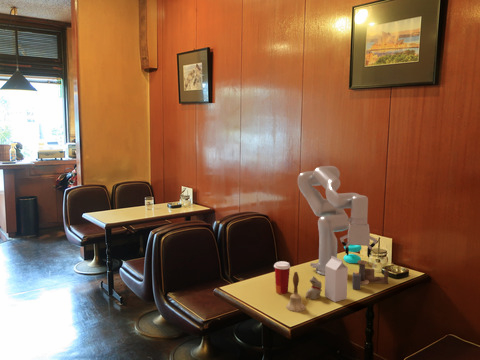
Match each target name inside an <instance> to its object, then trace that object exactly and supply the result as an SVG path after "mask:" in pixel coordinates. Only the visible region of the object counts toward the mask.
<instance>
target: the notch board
mask: <svg viewBox="0 0 480 360" xmlns="http://www.w3.org/2000/svg"><path fill="white" fill-rule="evenodd" d="M389 272H390V271H389V270H388V269H384V270H383V276H375V268H368V267H367V268H366V267H365V279H367V280H369V284H370V283H371V284H383V285H389V275H390V274H389Z"/></svg>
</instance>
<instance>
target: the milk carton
mask: <svg viewBox="0 0 480 360" xmlns="http://www.w3.org/2000/svg"><path fill="white" fill-rule="evenodd" d="M348 268H349V267H347V266H346V264H344V261H343V259H341V258H338V257H337V258H336V257H333V256H331V259H330V260H329V262H328V263H327V264H326V265H325V275H324V297H325V298H327V299H329V300H330V301H332V302H333V303H336V302H340V301H343V300H347V298H348V297H347V296H348V276H349V275H348V273H349V271H348Z"/></svg>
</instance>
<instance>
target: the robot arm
mask: <svg viewBox="0 0 480 360" xmlns="http://www.w3.org/2000/svg"><path fill="white" fill-rule="evenodd" d="M340 176H341V172H340V170H339V169H338V167H336V166H334V165H324V166H322V165H321V166H317V167H316V168H315V169H314V170H312V171H311V170H309V171H303V172H301V173H299V174H298V175H297V186H298V190H299V191H300V193H301V194H302V196H303V197H304V199H305V200H306V201H307V203H308V205H309V206H310V209H311V210H312V212H313V214H314V215H315V216H316V217H319V218H318V220H317V226H318V227H317V228H318V237H319V241H318V243H319V244H318V245H319V246H318V262H316V263H314V262H310V267H312V268H313V269H314V268H315V273H317V274H318V275H322V276H325V265H326V264H327V263H328V262H329V260H330V259H331V256H333V257H336V258H338V238H337V237H336V234H335V233H337V232H338V233H339V232H344V231H346V230H347V234H345V235H343V236H340V237H339V240H340V242H341V245H342V246H343V247H344V246H345V247H346V248H345V249H344V250H345V255H347V256H348V255H349V254H350V253H349V247H348V246H349V245H360V246H363V247H365V246H366V247H367V250H366V252H367V253H366V256H367V257H368V258H370V256H372V249H373V248H374V247H375V246H376V244H377V242H378V239H376V238H375V237H374V236H372V235H370V233H371V231H370V224H369V223H368V212H369V210H368V208H369V198H368V196H366V195H363V194H359V193H356V192H345V193H344V192H343V193H338V192H337V191H338V189H339V188H340V187H341V180H340ZM317 186H322V187H323V188H324V189H325V197H326V198H324V197H323V195H322V194H321V192H320V191H319V190H318V189H316V188H315V187H317ZM344 209H350V217H349V216H348V214H347V213H346V211H345V210H344ZM345 239H347V241H346V242H345ZM371 241H373V242H371ZM370 243H371V244H370Z"/></svg>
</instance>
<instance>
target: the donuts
mask: <svg viewBox="0 0 480 360" xmlns="http://www.w3.org/2000/svg"><path fill="white" fill-rule="evenodd" d="M348 247H349V252H350V253H349V255H348V256H347V254H345V255H344V256H343V260H344V261H343V262H346V263H349V264H358V261H359V260H362V258H361V256H360V255H358V254H355V253H358V252H360V251H362V245H349V246H348ZM343 248H344V250H345V248H346V247H345V246H344V245H343Z"/></svg>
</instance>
